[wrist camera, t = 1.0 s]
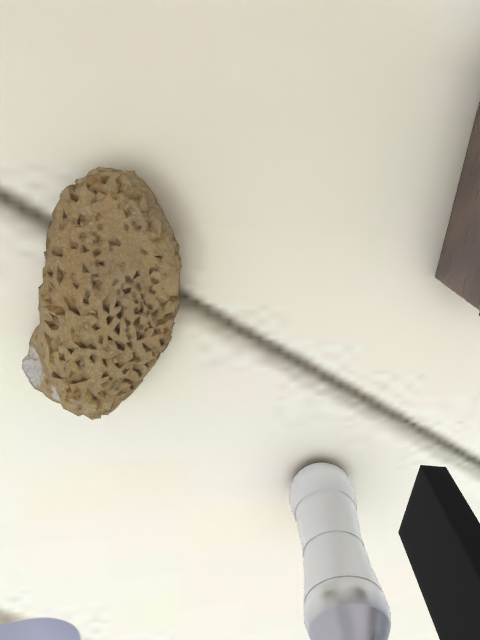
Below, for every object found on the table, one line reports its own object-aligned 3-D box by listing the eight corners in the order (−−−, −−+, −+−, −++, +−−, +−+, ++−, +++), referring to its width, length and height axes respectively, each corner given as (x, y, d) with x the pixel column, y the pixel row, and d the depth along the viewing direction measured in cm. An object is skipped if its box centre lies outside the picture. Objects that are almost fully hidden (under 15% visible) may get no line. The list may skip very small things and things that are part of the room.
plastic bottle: (356, 490, 47) (428, 716, 29) (297, 507, 48) (331, 736, 30) (339, 446, 45) (405, 660, 27) (278, 465, 46) (300, 684, 28)
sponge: (135, 392, 44) (246, 247, 34) (91, 445, 38) (213, 282, 27) (30, 312, 44) (112, 138, 33) (-34, 351, 37) (44, 148, 27)
